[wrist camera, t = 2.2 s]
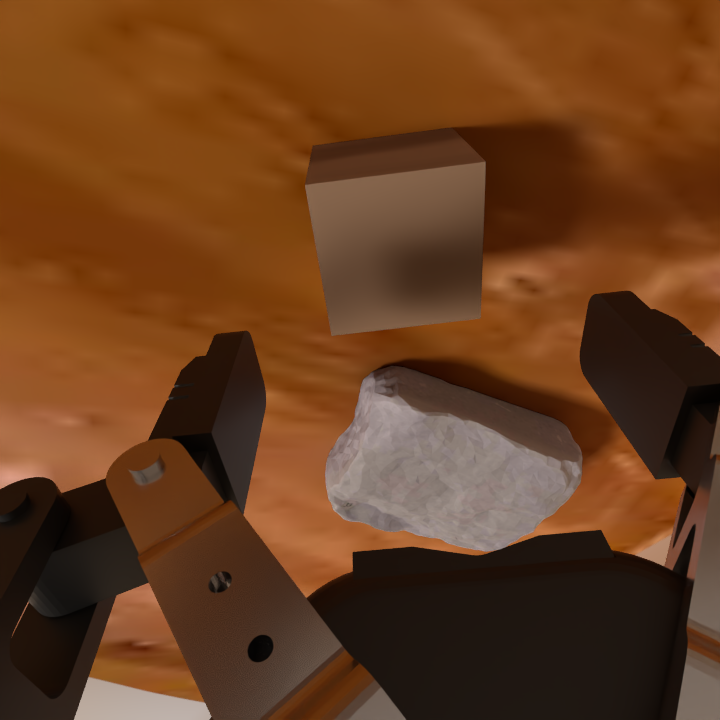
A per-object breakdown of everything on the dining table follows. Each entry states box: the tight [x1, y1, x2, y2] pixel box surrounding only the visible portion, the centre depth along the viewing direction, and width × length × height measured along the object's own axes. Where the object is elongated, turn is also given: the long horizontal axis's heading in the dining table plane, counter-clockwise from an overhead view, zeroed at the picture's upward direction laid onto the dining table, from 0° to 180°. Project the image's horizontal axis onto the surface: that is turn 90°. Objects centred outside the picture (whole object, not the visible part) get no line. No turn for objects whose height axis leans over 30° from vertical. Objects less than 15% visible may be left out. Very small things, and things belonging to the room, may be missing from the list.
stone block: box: [325, 366, 583, 551], centre depth 26 cm, size 12×5×10 cm
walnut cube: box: [305, 128, 486, 336], centre depth 17 cm, size 5×5×5 cm
